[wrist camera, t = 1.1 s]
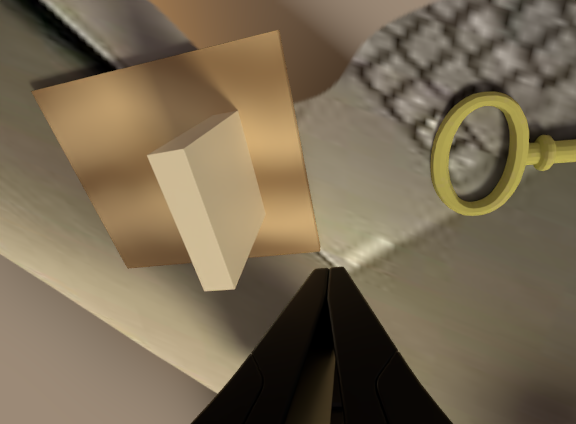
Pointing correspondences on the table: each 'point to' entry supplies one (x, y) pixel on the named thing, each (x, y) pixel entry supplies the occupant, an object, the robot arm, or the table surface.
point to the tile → (212, 197)
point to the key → (518, 156)
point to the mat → (172, 123)
